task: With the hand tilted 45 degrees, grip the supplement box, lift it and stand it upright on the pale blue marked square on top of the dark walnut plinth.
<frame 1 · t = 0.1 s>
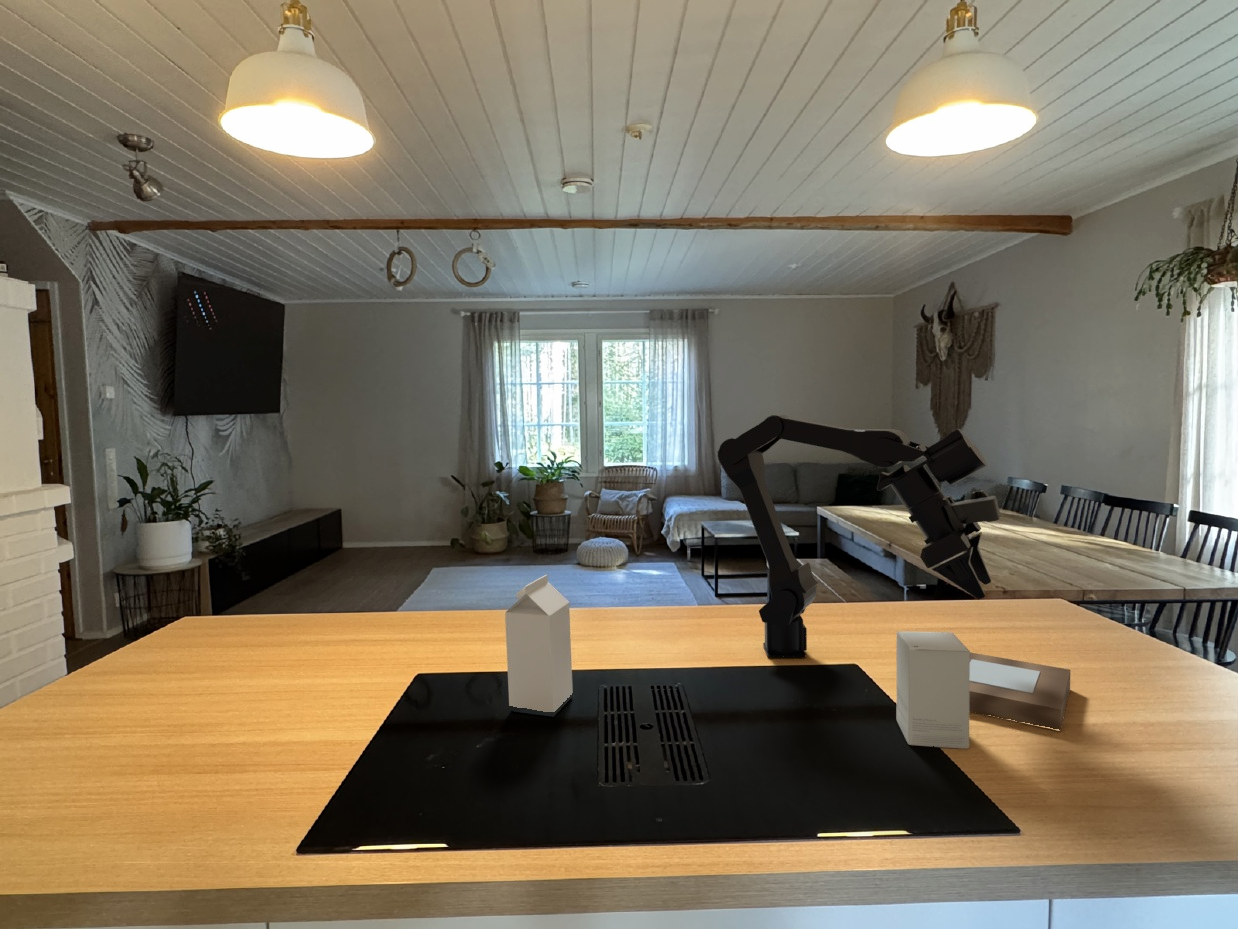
hand: (985, 590, 100), 15 cm above the table, tool tilted 35°, fingers open, 9 cm apart
supplement box: (931, 735, 87), on the table
plinth: (999, 695, 98), on the table
milk carton: (541, 707, 100), on the table
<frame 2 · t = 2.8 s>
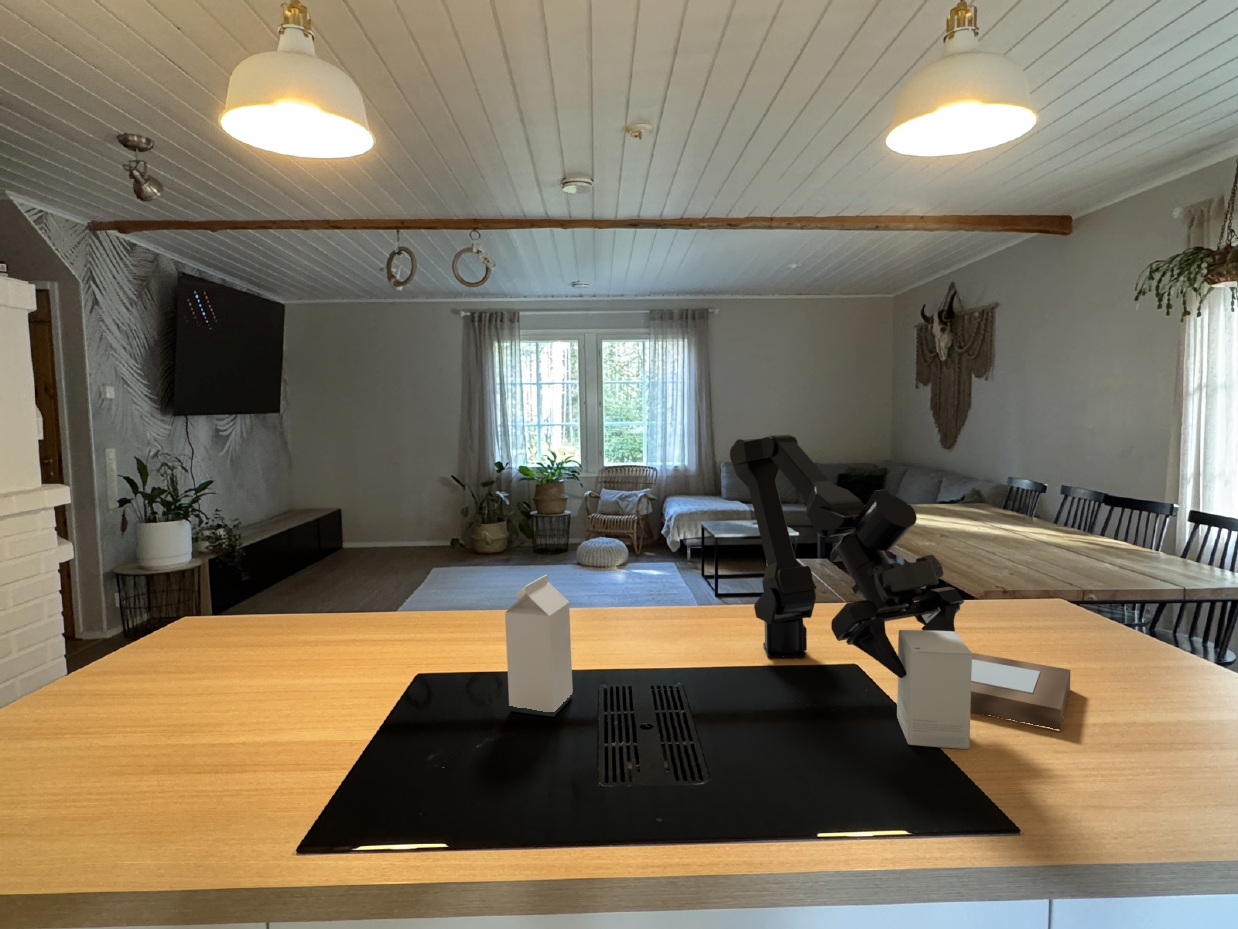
hand: (932, 670, 87), 8 cm above the table, tool tilted 45°, fingers closed on supplement box, 9 cm apart
supplement box: (931, 734, 87), on the table, touching gripper
everything else where it was.
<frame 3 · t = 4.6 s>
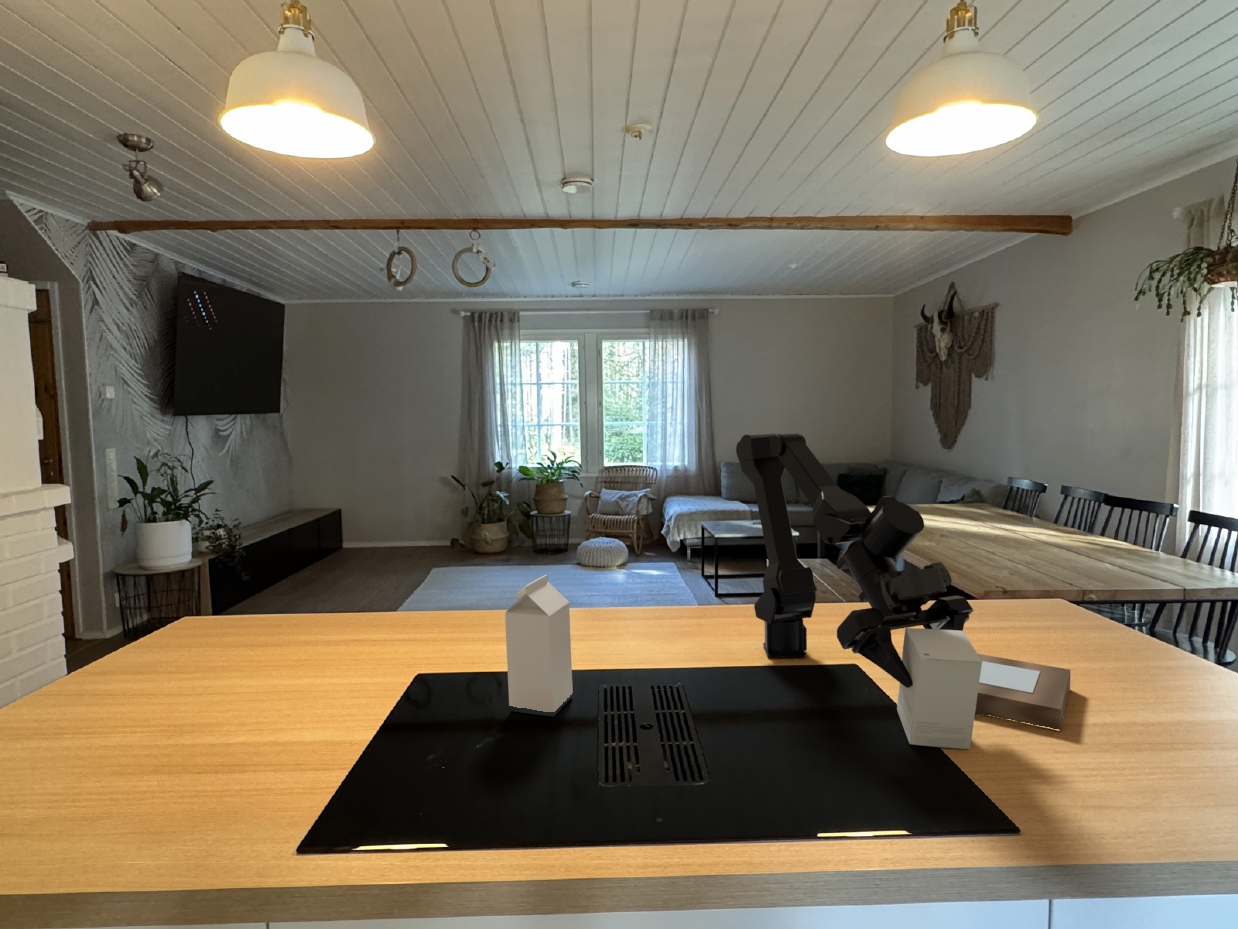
hand: (940, 680, 85), 8 cm above the table, tool tilted 45°, fingers closed on supplement box, 9 cm apart
supplement box: (931, 729, 87), point 1 cm above the table, touching gripper
everything else where it was.
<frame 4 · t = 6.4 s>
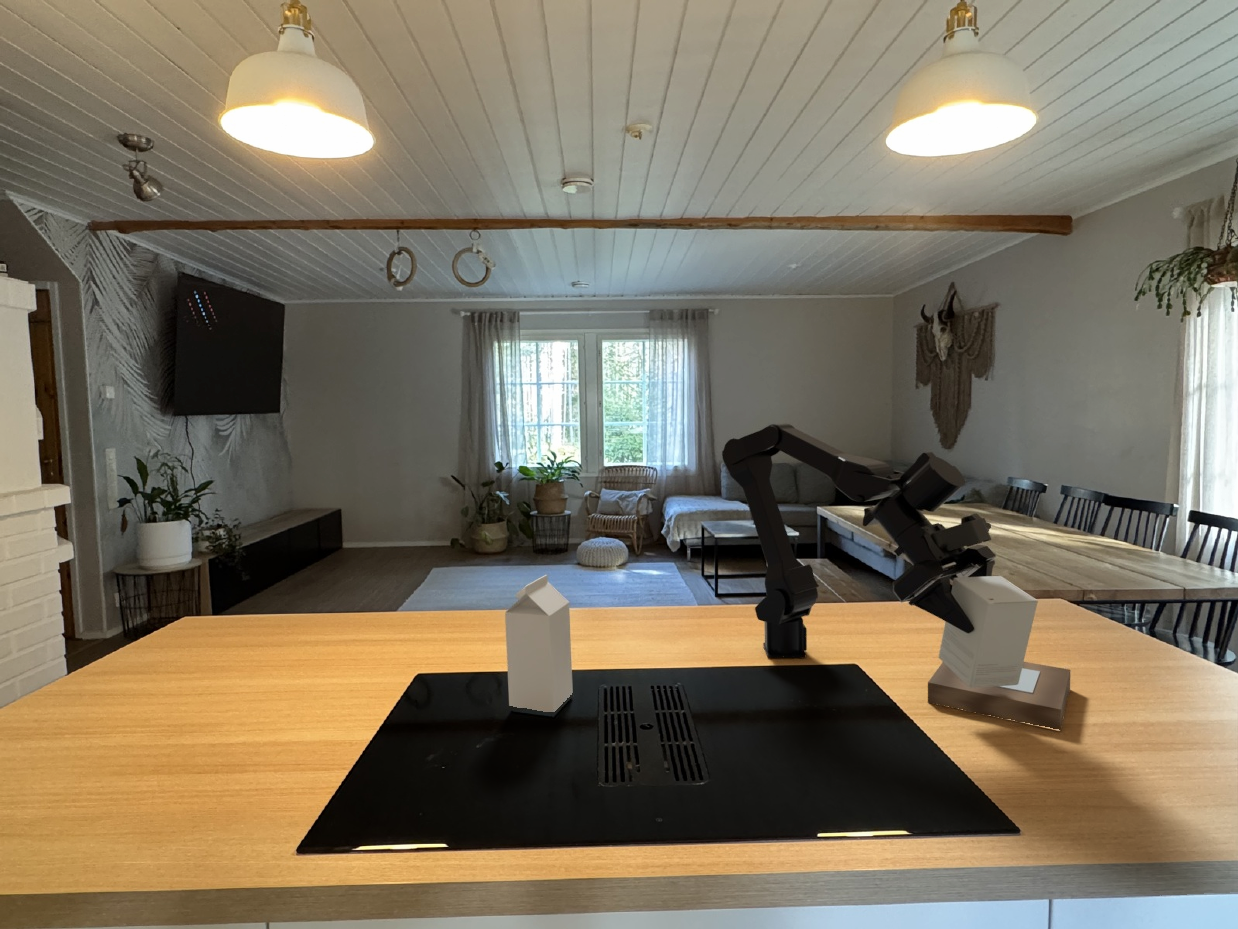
hand: (988, 624, 90), 13 cm above the table, tool tilted 45°, fingers closed on supplement box, 9 cm apart
supplement box: (976, 672, 92), point 6 cm above the table, touching gripper
everything else where it was.
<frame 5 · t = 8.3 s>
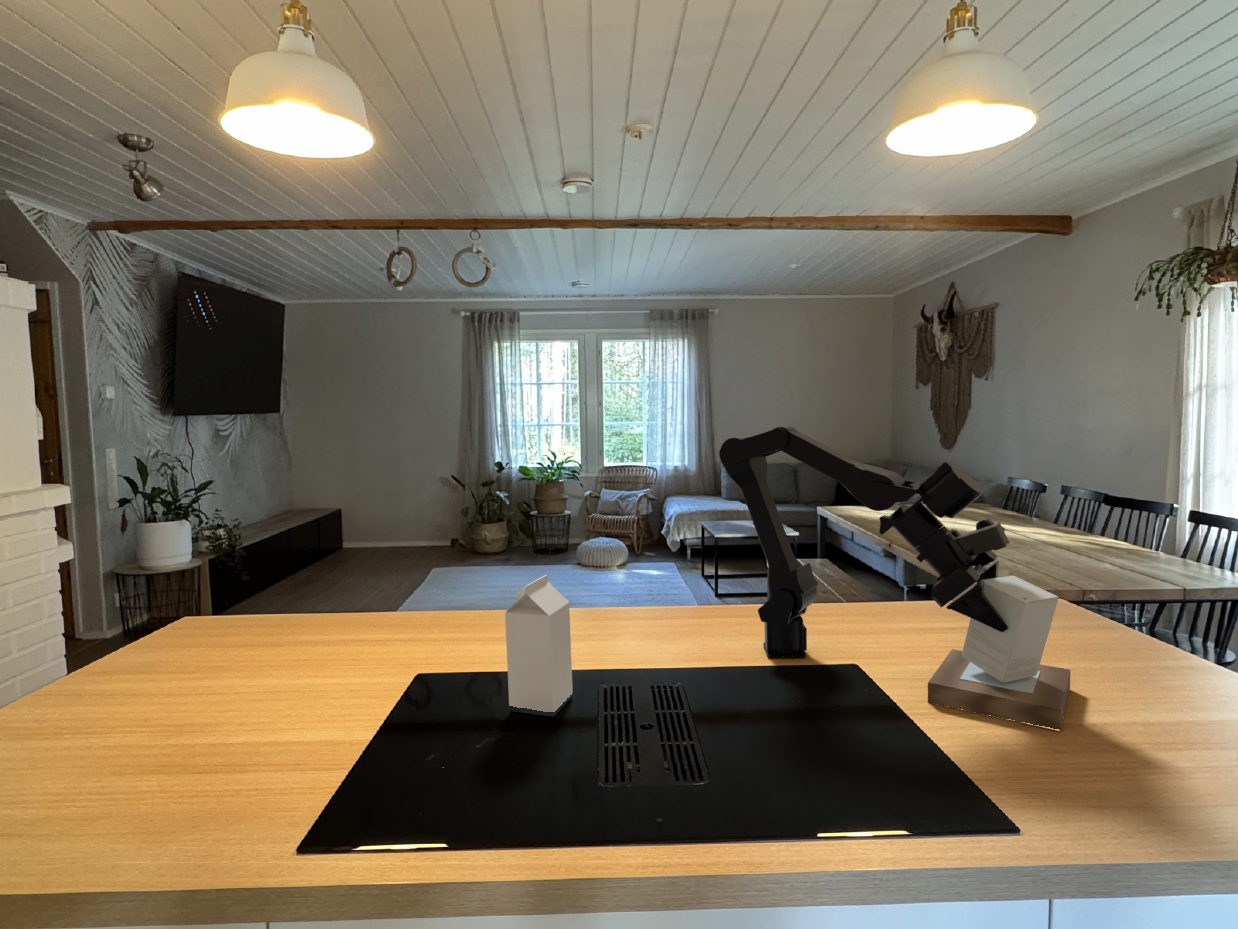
hand: (1010, 621, 96), 11 cm above the table, tool tilted 45°, fingers closed on supplement box, 9 cm apart
supplement box: (997, 667, 98), point 4 cm above the table, touching gripper
everything else where it was.
when the fingers open (11 cm above the table, at t = 9.7 s): supplement box moves 1 cm, resting on plinth.
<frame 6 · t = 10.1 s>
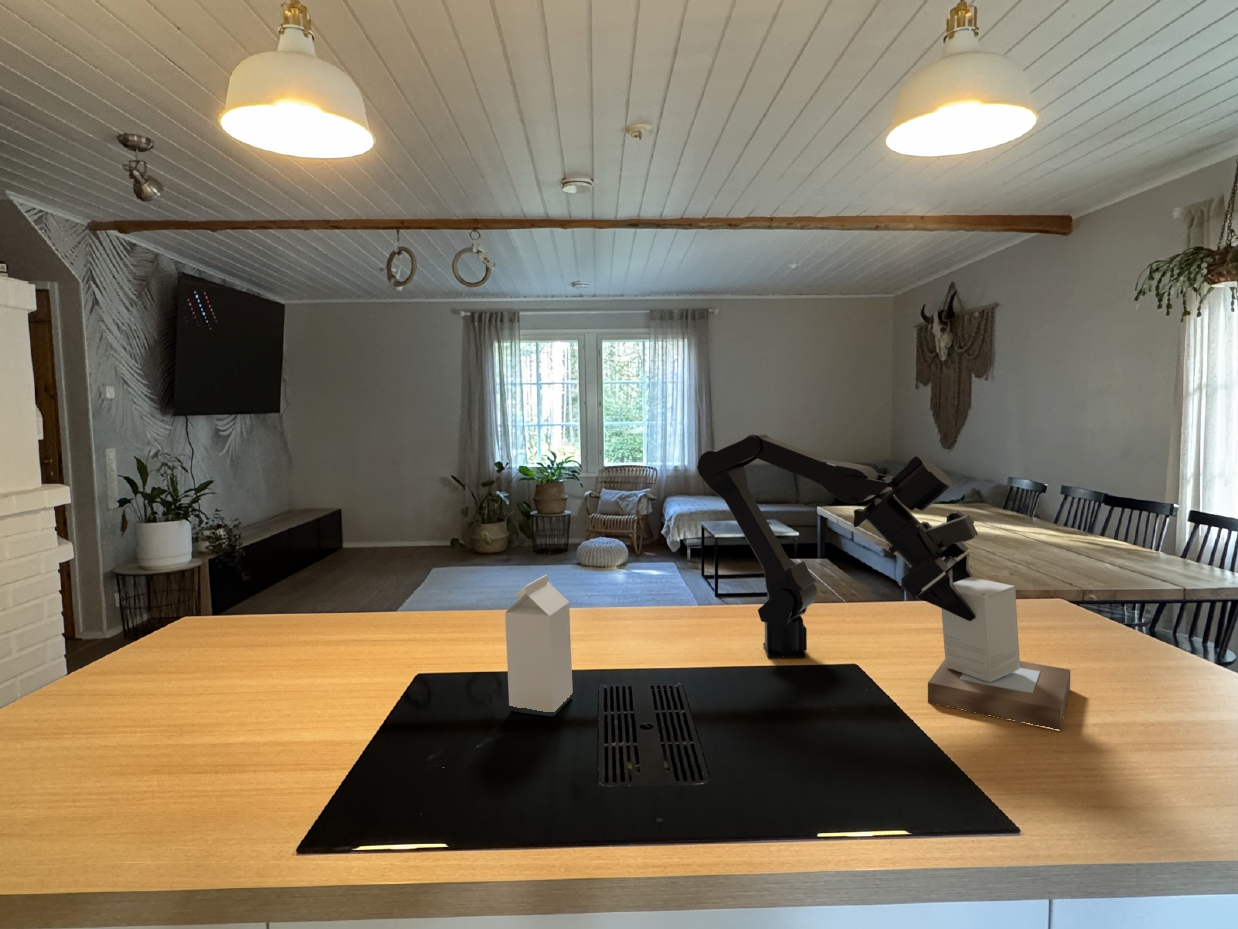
hand: (979, 611, 99), 12 cm above the table, tool tilted 45°, fingers open, 9 cm apart
supplement box: (982, 669, 99), point 3 cm above the table, touching plinth
everything else where it was.
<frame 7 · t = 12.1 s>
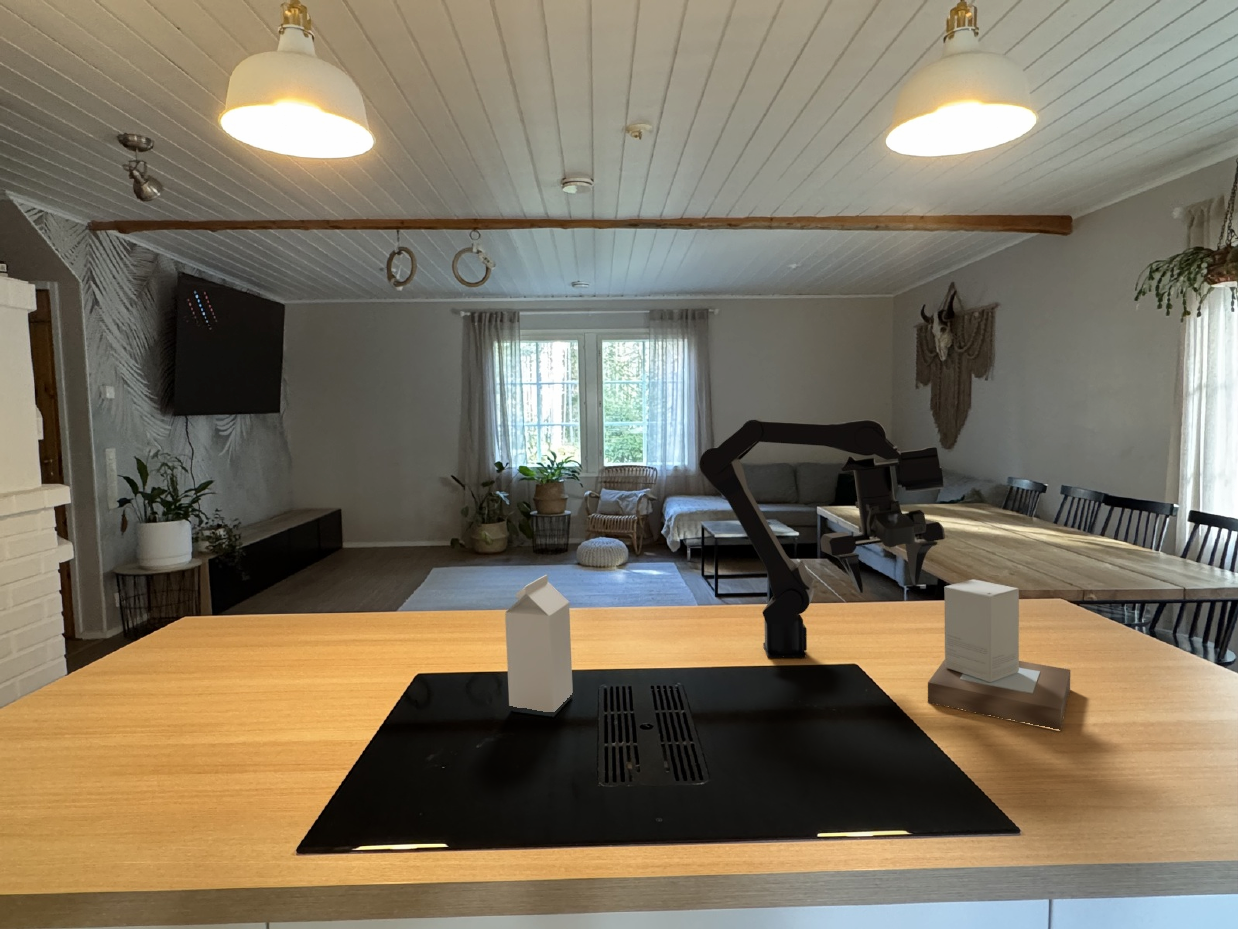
hand: (888, 588, 111), 13 cm above the table, tool pointing down, fingers open, 9 cm apart
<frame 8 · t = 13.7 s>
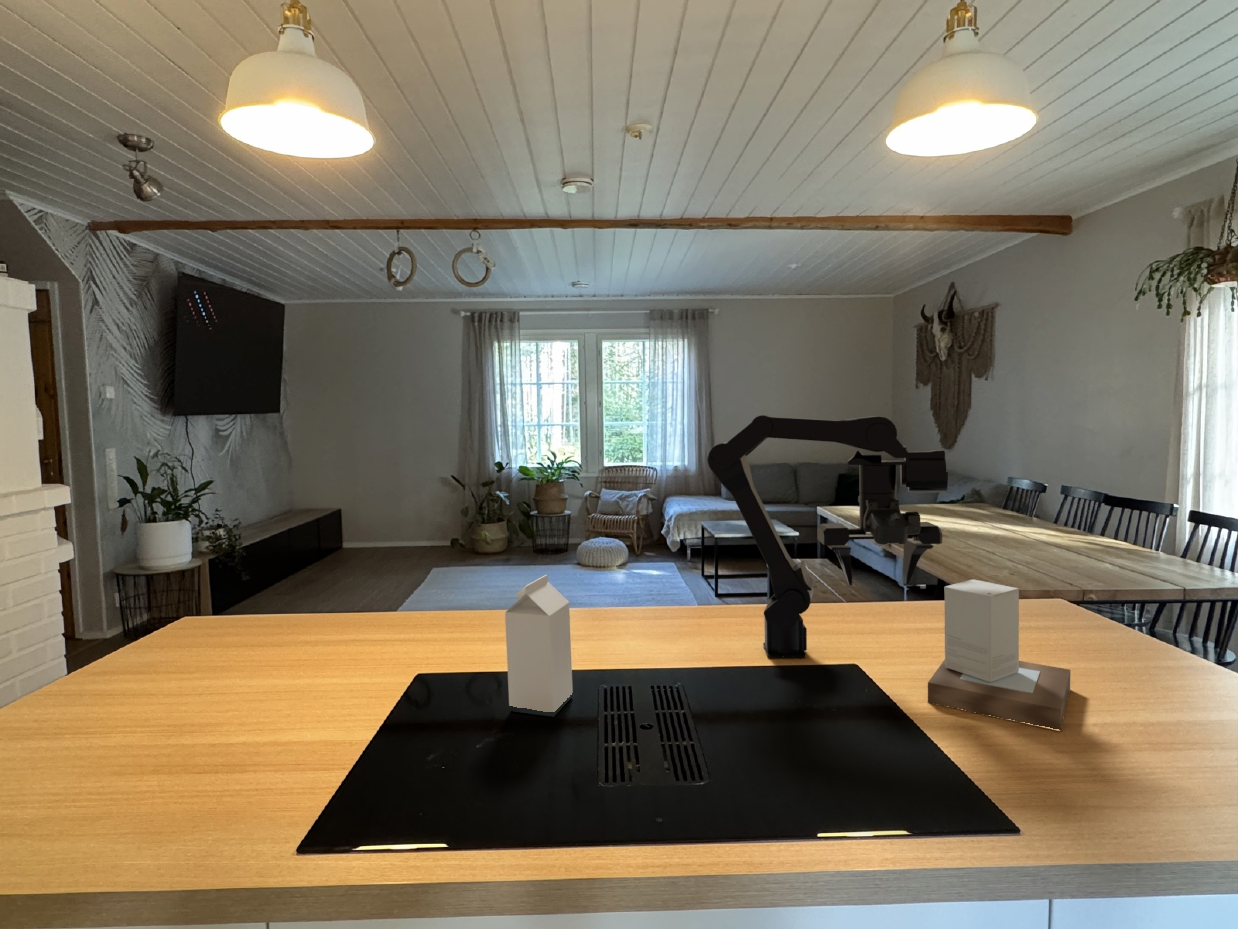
hand: (878, 584, 112), 13 cm above the table, tool pointing down, fingers open, 9 cm apart
nothing on the table moved.
at the end: supplement box 2.7 cm off-centre on the plinth, point 2.9 cm above the plinth's base; supplement box tilted 0°; the gripper is holding nothing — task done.
